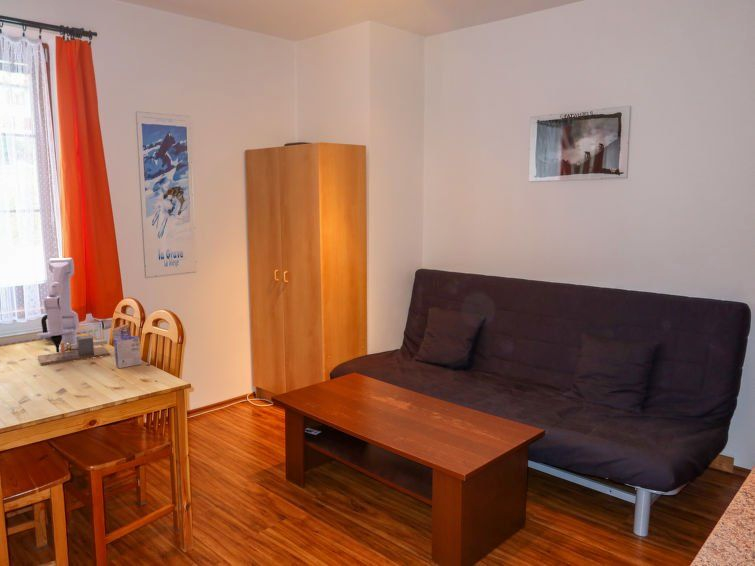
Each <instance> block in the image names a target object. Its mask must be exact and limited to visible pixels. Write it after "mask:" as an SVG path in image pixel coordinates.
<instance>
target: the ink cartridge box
mask: <svg viewBox="0 0 755 566" xmlns="http://www.w3.org/2000/svg"><path fill="white" fill-rule="evenodd" d="M123 334H128V335H126V336H123ZM130 334H131V332H130V333H129V332H124V333H121V338H119V339H113V338H112V341H113V340H114V342H113V348H114V349H113V351H114V350H115V352H114V361H115V360H116V362H115V366H116V368H117V369H122V368H128V367H133V366H134V367H135V366H138V365H142V356H141V355H142V354H141V345H140V344H141V343H140V342H141V341H140V337H139V336H137V335H132V336H130Z"/></svg>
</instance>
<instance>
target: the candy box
mask: <svg viewBox="0 0 755 566" xmlns="http://www.w3.org/2000/svg"><path fill="white" fill-rule="evenodd" d="M130 326H131V325H130V324H122V325H119V326H118V327H115V328H112V329H111V330H112V342H113V343H114V340H113V339H119V338H121V333H124V332H129V333H130V336H131V327H130ZM126 335H128V334H123V336H126ZM113 351H114V353H115V350H114V349H113ZM114 361H115V363H116V360H115V359H114Z"/></svg>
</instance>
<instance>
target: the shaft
mask: <svg viewBox="0 0 755 566" xmlns="http://www.w3.org/2000/svg"><path fill="white" fill-rule="evenodd" d="M107 344H108V341H107V339H102V340H93V346H94V347H96V346H103V345H107ZM75 348H79V347H78V343H77V344H70V343H66V345H64V343H63V341H61V343H60V349H59V351H60V353H61V354H62V355H63V354H65V352H69V351H72V350H76V349H75Z"/></svg>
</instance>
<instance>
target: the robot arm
mask: <svg viewBox="0 0 755 566" xmlns="http://www.w3.org/2000/svg"><path fill="white" fill-rule="evenodd" d="M48 269H49V271H50V273H51V274H52V278H51V279H52V283H50V284H49V285H48V290H47V295H46V297H45V298H44V300H43V305H44V308H45V314H47V325H48V326H47V330H48V332H47V333H43V332H41V333H37V339H38V340H39V339H40V340H42V339H45V338H48V337H51V339H52V341H53V342H52V341H51V342H52V343H53V344H54V346H55V350H56V351H55V352H56V353H60V343H61V341H63V343H64V345H66V343H70V344H77V339H76V337H77V329H78V328H79V327H80V321H79V320H80V319H79V314H78V313H77V312H76V311H74V310H73V309H72V297H71V296H72V294H71V277H72V276H73V275H75V263H74V259H73V258H72V257H69V258H68V257H66V258H64V257H63V258H62V257H61V258H60V257H59V258H49V260H48ZM62 316H71V317H62ZM74 350H77V348H75V349H74Z"/></svg>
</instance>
